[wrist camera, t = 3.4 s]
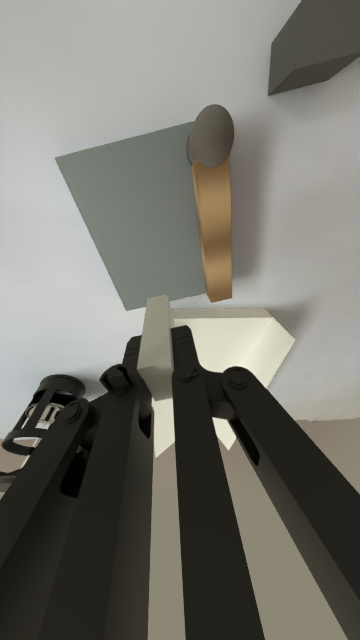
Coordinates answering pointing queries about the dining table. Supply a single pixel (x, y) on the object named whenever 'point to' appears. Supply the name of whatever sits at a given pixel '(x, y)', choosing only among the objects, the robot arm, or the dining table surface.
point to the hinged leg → (213, 196)
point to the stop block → (315, 44)
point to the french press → (40, 417)
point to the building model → (226, 356)
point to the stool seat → (141, 213)
